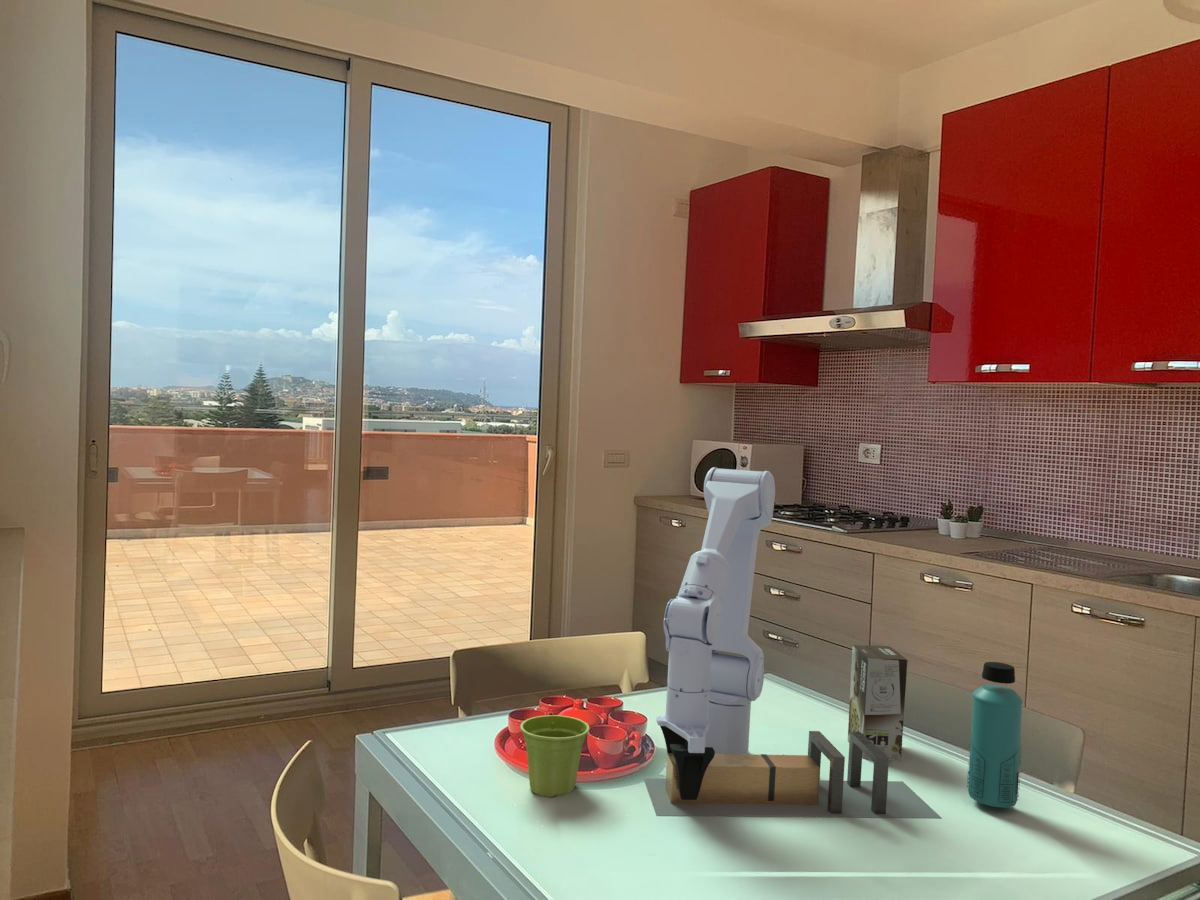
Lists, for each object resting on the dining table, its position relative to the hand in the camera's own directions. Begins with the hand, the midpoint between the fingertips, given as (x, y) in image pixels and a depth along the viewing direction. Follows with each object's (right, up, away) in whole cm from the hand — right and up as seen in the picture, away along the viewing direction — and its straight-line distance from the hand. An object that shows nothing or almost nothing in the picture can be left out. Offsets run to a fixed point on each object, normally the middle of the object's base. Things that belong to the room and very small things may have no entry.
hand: (683, 786), depth 120 cm
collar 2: (+25, -3, +2) cm, 26 cm away
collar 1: (+19, -2, +2) cm, 20 cm away
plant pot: (-18, -1, +1) cm, 18 cm away
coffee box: (+32, -3, +22) cm, 39 cm away
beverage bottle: (+42, -4, +2) cm, 43 cm away
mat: (+14, -2, +1) cm, 15 cm away
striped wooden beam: (+8, -2, +1) cm, 8 cm away
